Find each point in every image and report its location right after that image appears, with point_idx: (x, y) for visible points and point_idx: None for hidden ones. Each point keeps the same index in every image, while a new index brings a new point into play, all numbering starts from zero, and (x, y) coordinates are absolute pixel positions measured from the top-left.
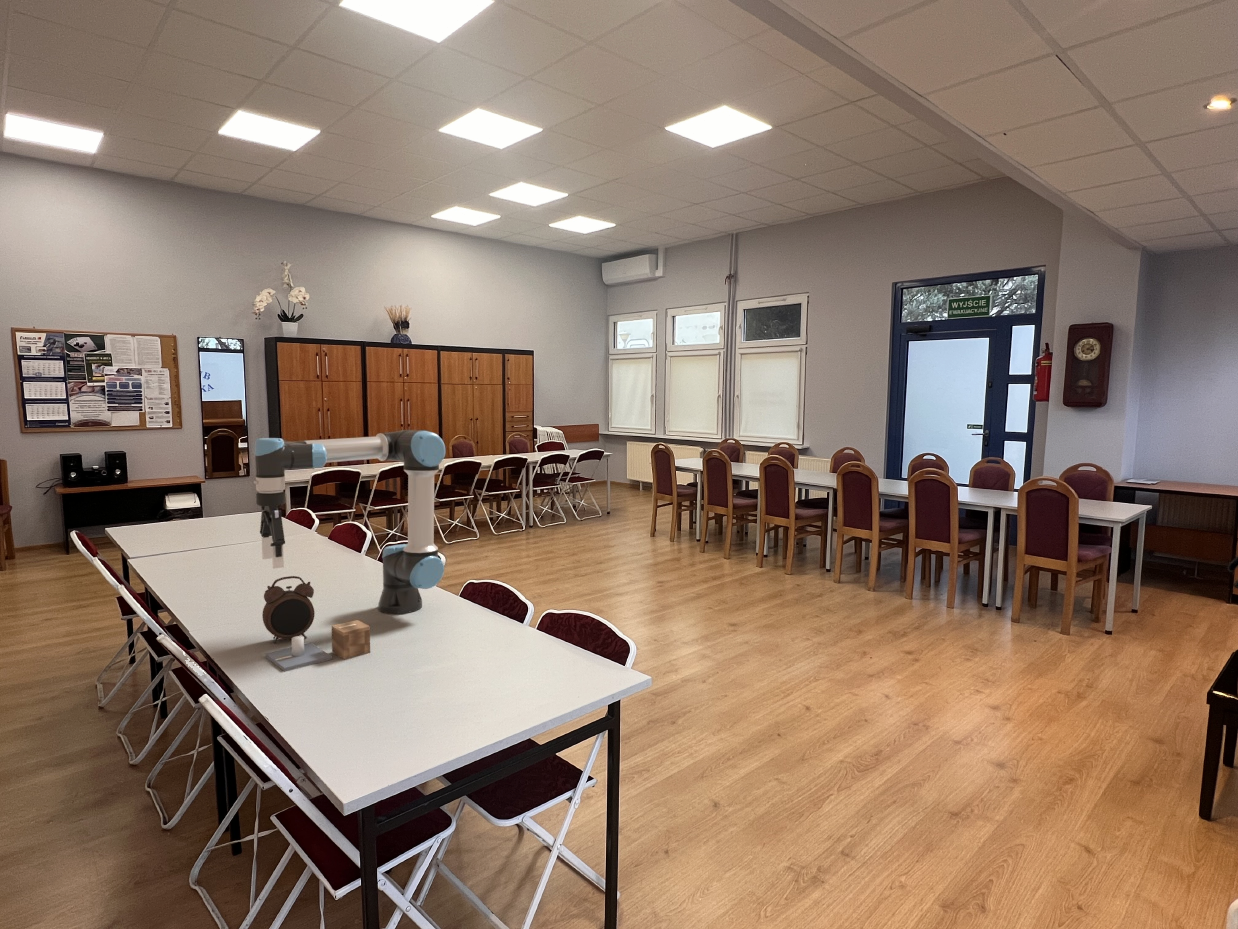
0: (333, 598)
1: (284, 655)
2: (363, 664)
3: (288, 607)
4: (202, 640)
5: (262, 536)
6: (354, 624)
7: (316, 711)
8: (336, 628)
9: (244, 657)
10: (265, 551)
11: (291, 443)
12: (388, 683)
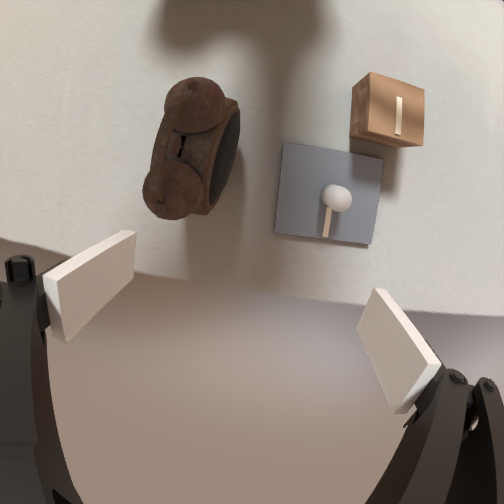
0: (66, 30)
1: (314, 214)
2: (434, 144)
3: (223, 165)
4: None
5: (45, 336)
6: (399, 99)
7: (484, 276)
8: (392, 136)
9: (247, 257)
10: (113, 283)
11: None
12: (495, 176)
